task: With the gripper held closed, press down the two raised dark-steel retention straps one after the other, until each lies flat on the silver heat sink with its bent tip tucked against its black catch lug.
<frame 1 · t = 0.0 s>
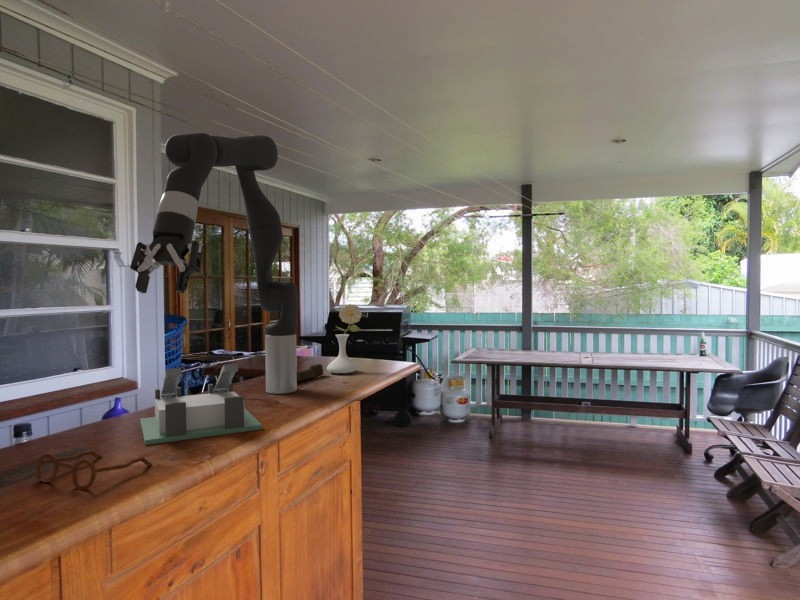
hand: (160, 292, 106), 31 cm above the counter, tool tilted 20°, fingers open, 8 cm apart
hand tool: (304, 381, 181), on the counter
strap b: (170, 384, 122), point 10 cm above the counter, hinge at 30.0°
glasses: (96, 476, 95), on the counter
strap a: (225, 379, 128), point 10 cm above the counter, hinge at 30.0°
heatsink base: (199, 425, 124), on the counter
flower in vase: (344, 373, 194), on the counter
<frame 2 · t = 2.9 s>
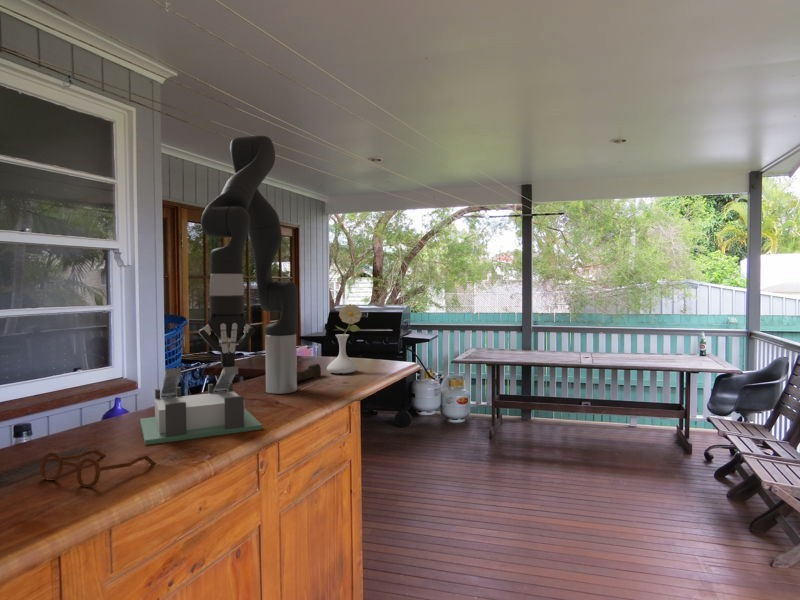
hand: (227, 368, 124), 13 cm above the counter, tool pointing down, fingers closed
strap a: (225, 380, 127), point 10 cm above the counter, hinge at 27.6°, touching gripper
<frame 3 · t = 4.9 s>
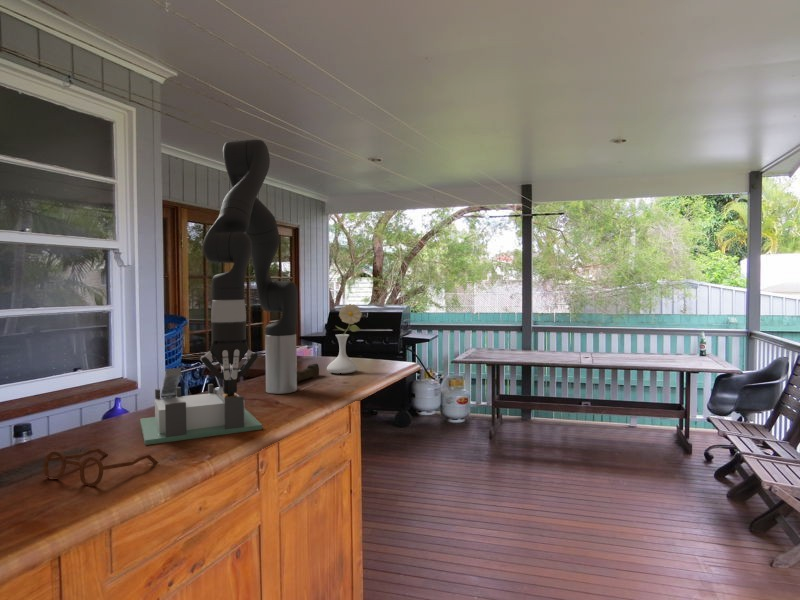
hand: (229, 395, 123), 7 cm above the counter, tool pointing down, fingers closed
strap a: (226, 395, 127), point 6 cm above the counter, hinge at 0.9°, touching gripper
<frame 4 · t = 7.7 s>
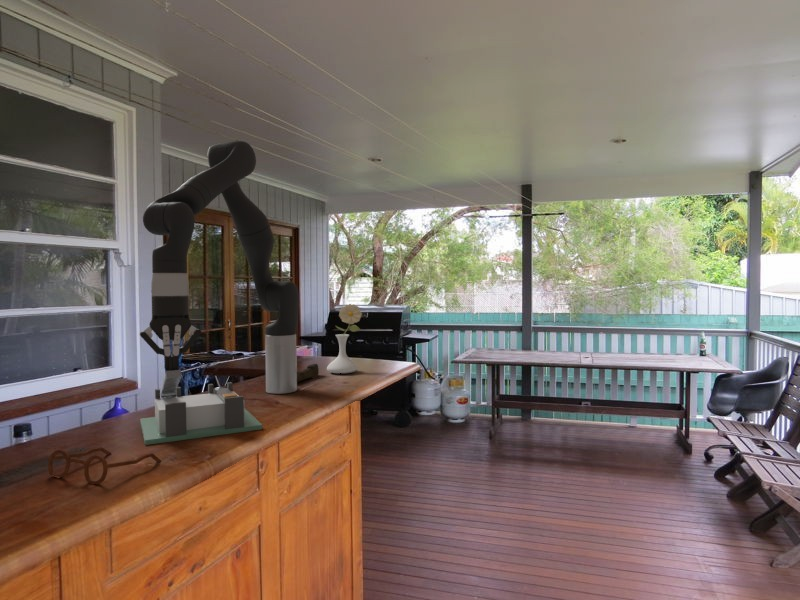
hand: (171, 372, 118), 13 cm above the counter, tool pointing down, fingers closed
strap b: (170, 385, 122), point 10 cm above the counter, hinge at 28.3°, touching gripper
strap a: (226, 395, 127), point 6 cm above the counter, hinge at 0.8°
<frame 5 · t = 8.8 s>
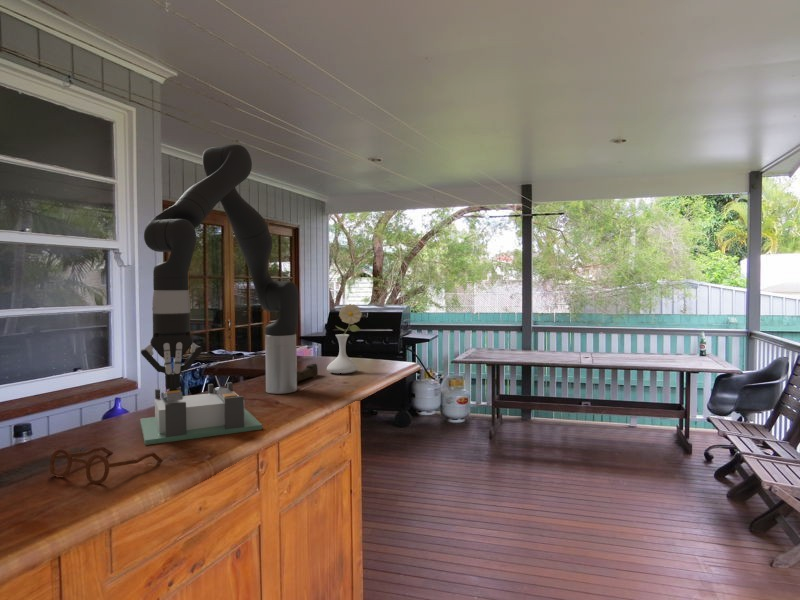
hand: (172, 390, 117), 10 cm above the counter, tool pointing down, fingers closed
strap b: (171, 395, 121), point 8 cm above the counter, hinge at 10.8°, touching gripper
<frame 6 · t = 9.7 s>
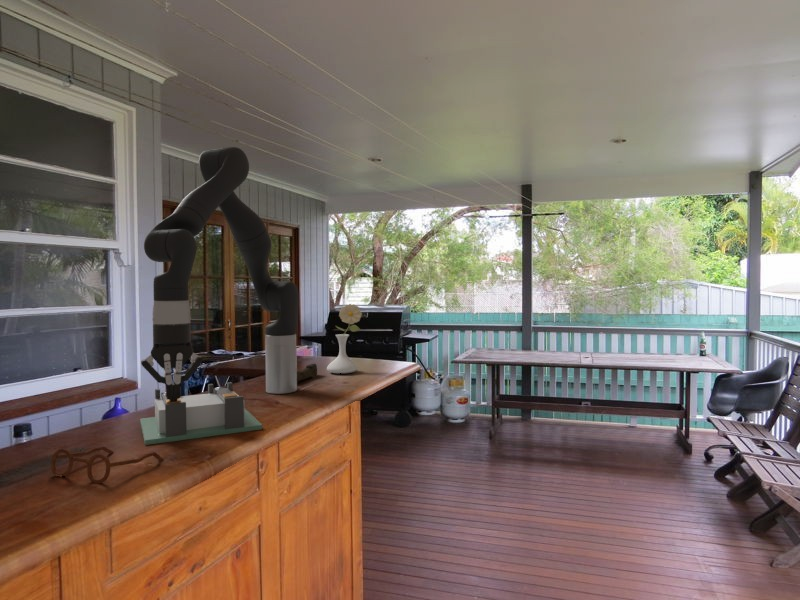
hand: (173, 401, 117), 7 cm above the counter, tool pointing down, fingers closed
strap b: (171, 401, 121), point 6 cm above the counter, hinge at 1.1°, touching gripper
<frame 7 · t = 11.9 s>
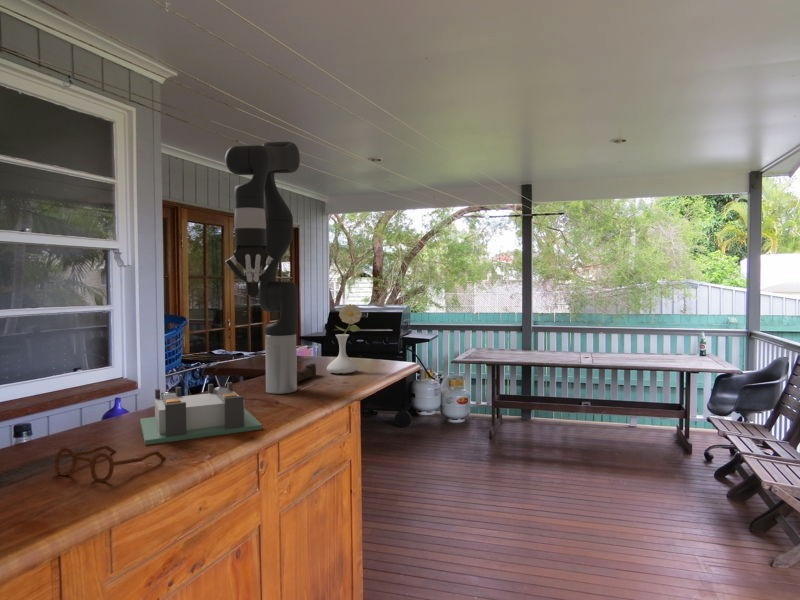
hand: (252, 297, 134), 29 cm above the counter, tool pointing down, fingers closed
strap b: (171, 401, 121), point 6 cm above the counter, hinge at 1.0°
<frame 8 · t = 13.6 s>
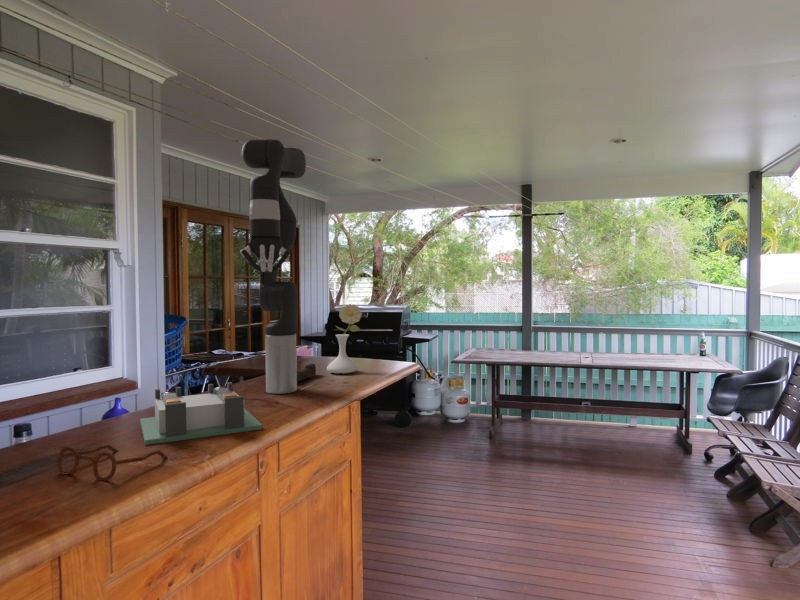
hand: (265, 286, 138), 32 cm above the counter, tool pointing down, fingers closed
at the end: strap a at +1° (first picture: +30°); strap b at +1° (first picture: +30°) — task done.
